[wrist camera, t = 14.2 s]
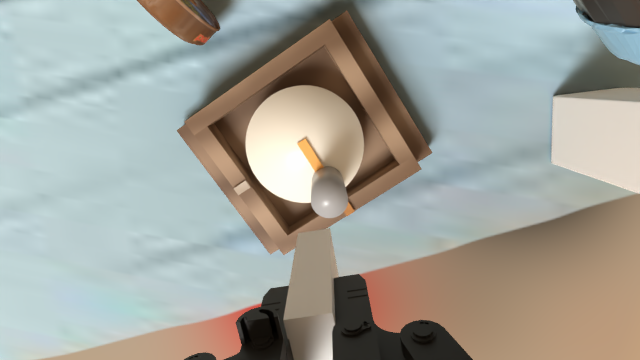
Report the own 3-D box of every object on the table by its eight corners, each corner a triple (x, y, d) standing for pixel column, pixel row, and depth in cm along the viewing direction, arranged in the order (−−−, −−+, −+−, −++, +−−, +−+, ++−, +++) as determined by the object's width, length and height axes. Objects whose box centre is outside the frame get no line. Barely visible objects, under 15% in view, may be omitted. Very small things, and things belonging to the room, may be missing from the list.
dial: (227, 124, 38) (203, 136, 30) (323, 62, 36) (325, 56, 28) (289, 215, 40) (282, 249, 32) (381, 159, 39) (398, 180, 31)
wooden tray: (183, 128, 40) (165, 134, 36) (345, 14, 38) (349, 4, 33) (272, 246, 44) (267, 266, 39) (426, 149, 41) (440, 158, 36)
